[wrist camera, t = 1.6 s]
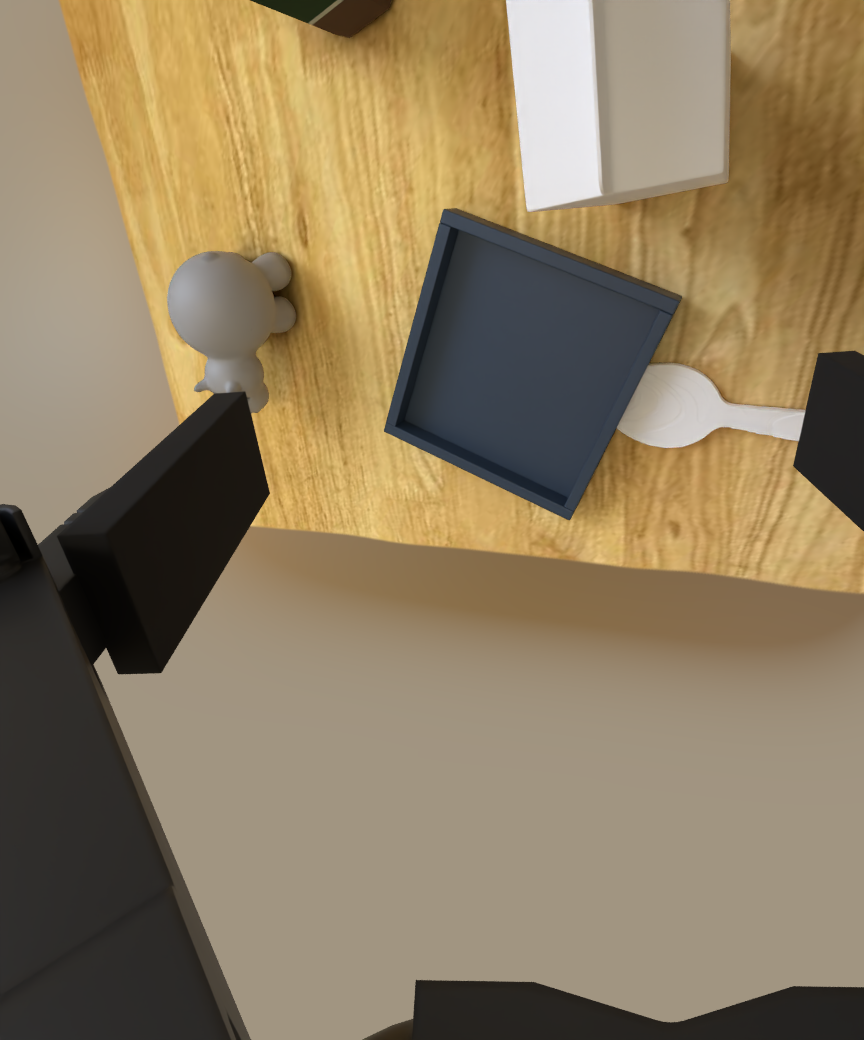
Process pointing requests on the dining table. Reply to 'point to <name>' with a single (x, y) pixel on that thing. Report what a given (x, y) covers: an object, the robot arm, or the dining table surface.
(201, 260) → the toy rhinoceros
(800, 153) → the dining table surface
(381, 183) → the dining table surface
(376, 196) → the dining table surface
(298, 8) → the beer bottle
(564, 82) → the milk
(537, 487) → the tray
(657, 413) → the spoon
